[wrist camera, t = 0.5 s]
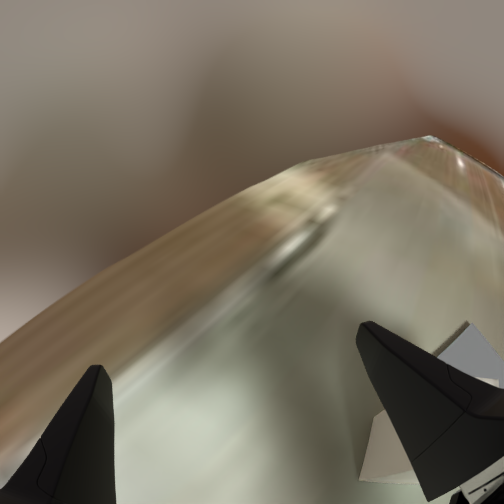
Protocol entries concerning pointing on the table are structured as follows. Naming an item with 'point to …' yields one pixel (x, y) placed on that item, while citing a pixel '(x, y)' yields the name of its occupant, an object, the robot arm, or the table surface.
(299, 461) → the table surface
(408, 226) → the table surface
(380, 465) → the cover
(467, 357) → the mat
